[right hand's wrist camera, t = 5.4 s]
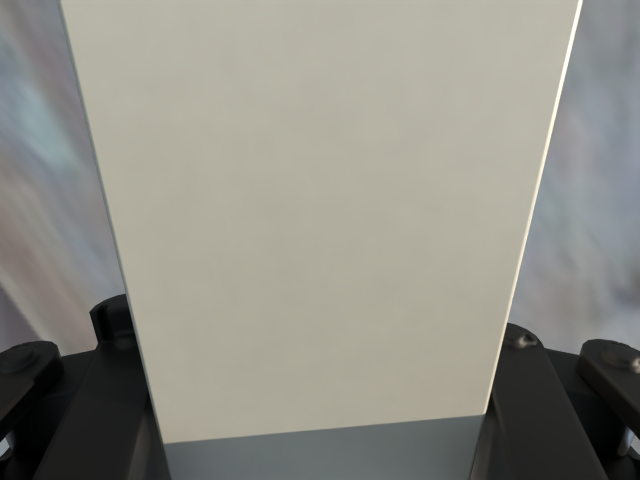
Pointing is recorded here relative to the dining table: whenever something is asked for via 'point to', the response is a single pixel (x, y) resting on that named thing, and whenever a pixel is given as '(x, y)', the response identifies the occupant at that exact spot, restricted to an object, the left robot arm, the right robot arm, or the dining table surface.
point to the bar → (319, 218)
